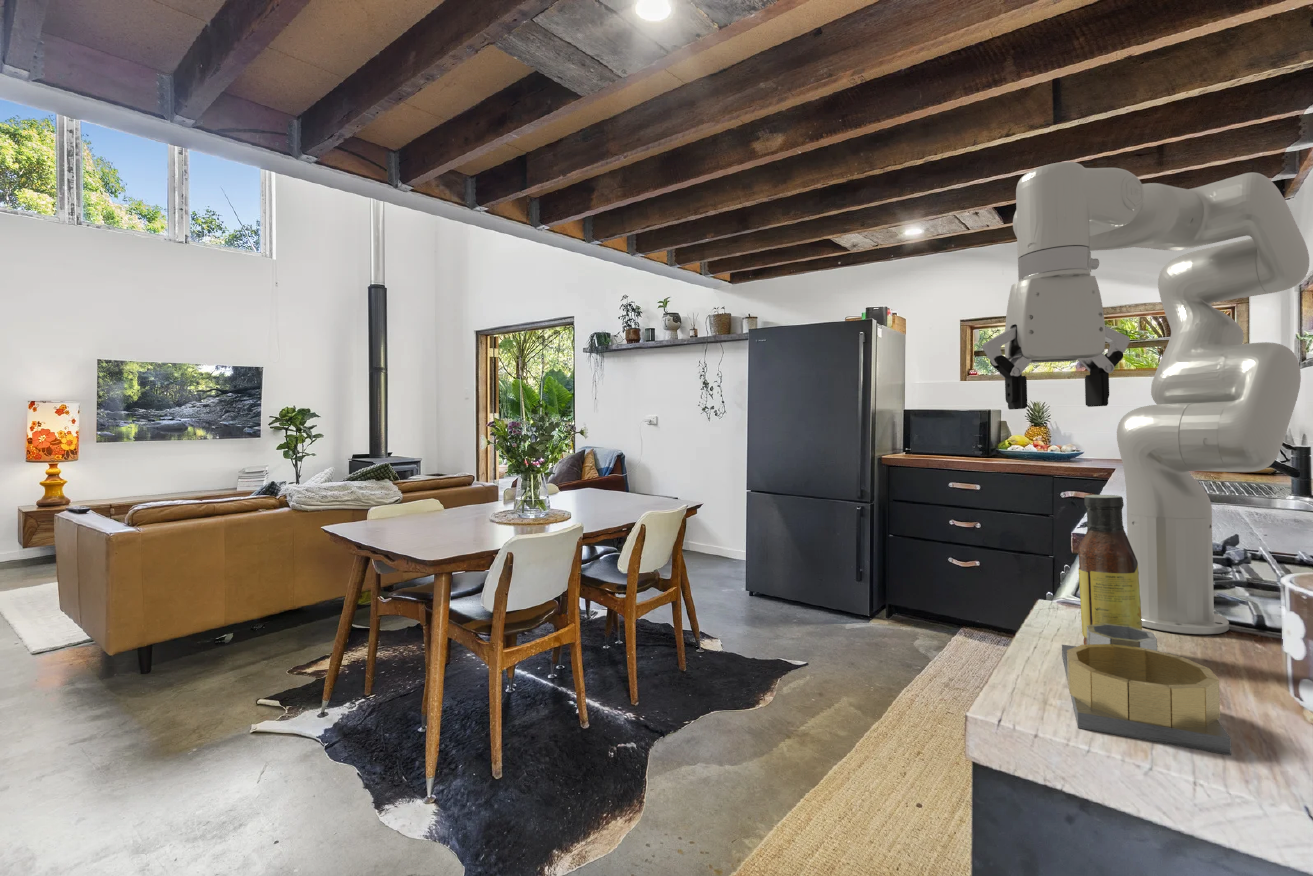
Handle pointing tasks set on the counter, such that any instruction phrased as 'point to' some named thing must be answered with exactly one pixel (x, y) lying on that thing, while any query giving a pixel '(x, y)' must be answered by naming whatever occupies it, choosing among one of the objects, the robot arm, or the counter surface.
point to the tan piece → (1143, 690)
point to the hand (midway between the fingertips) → (1057, 407)
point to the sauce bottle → (1107, 567)
